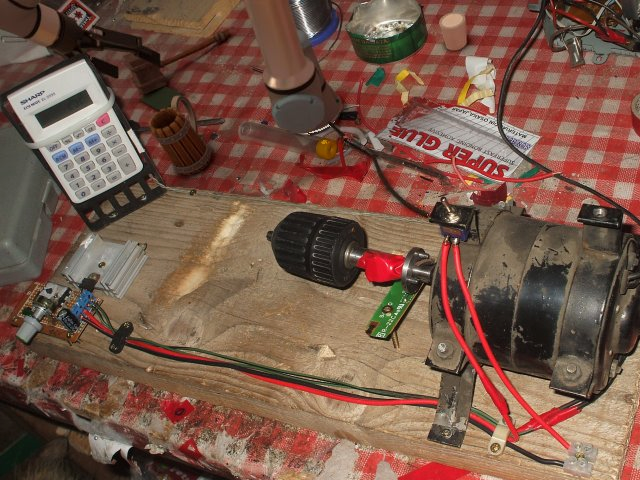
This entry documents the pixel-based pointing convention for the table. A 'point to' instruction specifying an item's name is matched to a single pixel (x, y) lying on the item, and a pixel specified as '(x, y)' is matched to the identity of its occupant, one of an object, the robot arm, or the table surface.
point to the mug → (181, 137)
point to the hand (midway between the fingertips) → (138, 66)
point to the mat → (160, 98)
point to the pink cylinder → (454, 30)
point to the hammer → (150, 75)
